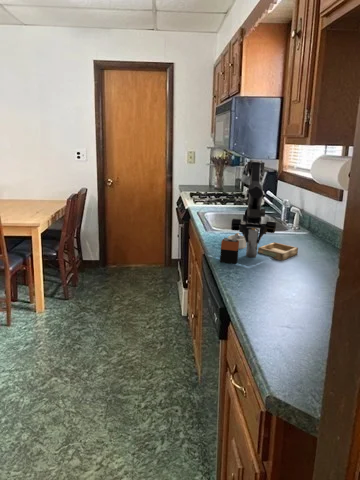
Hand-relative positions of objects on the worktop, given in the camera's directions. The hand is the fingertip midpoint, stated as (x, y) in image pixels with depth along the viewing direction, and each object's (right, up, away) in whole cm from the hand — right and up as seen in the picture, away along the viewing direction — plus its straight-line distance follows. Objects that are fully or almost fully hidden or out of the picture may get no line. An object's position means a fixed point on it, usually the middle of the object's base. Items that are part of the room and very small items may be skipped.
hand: (252, 242), depth 171 cm
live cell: (0, -6, +3) cm, 7 cm away
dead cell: (-4, -2, +17) cm, 18 cm away
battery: (-10, -8, -3) cm, 14 cm away
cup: (-4, -2, +17) cm, 18 cm away
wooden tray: (+13, -5, +10) cm, 17 cm away
